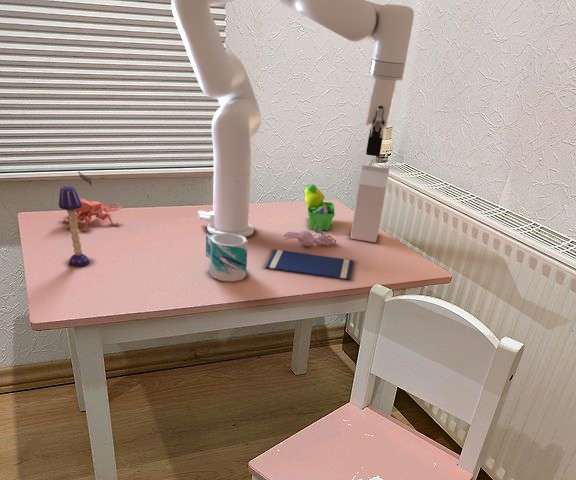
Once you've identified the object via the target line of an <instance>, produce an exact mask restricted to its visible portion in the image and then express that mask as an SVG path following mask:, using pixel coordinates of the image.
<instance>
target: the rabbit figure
mask: <svg viewBox="0 0 576 480" xmlns="http://www.w3.org/2000/svg"><path fill="white" fill-rule="evenodd" d="M319 226H320V225H315V226H314V229H313V232H315V233H316V234H319V235H318V236H316V234H314V233H313V234H312V232H310V231H308V230H301V231H299V232H295V231H288V232H285V233H284V234H283V235H282V237H283V238H284V239H285V240H289V239H297V241H298V243H299V244H301V245H304V247H311V246H313V245H314V244H317V245H318V244H320V245H323V246H326V247H328V246H330V245H332V243H334V245H333V246H336V245H337V239H336V238H334V237H333V235H330V234H328V235H326V234H325V233H324V232H323V230H320V229H318V227H319ZM333 241H334V242H333Z"/></svg>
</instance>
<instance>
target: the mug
mask: <svg viewBox="0 0 576 480" xmlns="http://www.w3.org/2000/svg"><path fill="white" fill-rule="evenodd" d="M248 243H249V241H248V239H247V237H244V236H241V235H238V234H231V233H222V234H207V235H205V257H207V258H208V259H210V260H209V261H210V265H209V266H210V267H209V268H210V269H209V273H210V275H211V277H212V278H213V279H216V280H218V281H221V282H237V281H241V280H243V279H244V278H245V277H247V266H248V245H249V244H248Z"/></svg>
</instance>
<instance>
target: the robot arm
mask: <svg viewBox="0 0 576 480" xmlns="http://www.w3.org/2000/svg"><path fill="white" fill-rule="evenodd" d="M170 1H171V10H172V14H173V18H174V21H175V24H176V26H177V29H178V32H179V34H180V37H181V39H182V41H183V44H184V47H185V50H186V53H187V56H188V59H189V61H190V64H191V67H192V69H193V70H194V73H195V74H194V75H195V76H196V77H195V78H196V79H197V82H198V85H199V87H200V89H201V91H202V92H203V94H205V96H206V97H208V98H210V99H213V100H217V101H218V103H219V106H220V107H219V108H218V109H217V110H216V111H215V113H214V114H213V118H212V120H211V138H212V139H211V140H212V149H213V182H212V183H213V184H212V185H213V186H212V187H213V189H212V191H213V193H212V195H213V196H212V211H211V210H210V211H209V212H208V211H205V210H198V211H197V218H198V219H199V221H203V222H208V223H207V225H206V230H207V232H208V233H209V234H210V235H213V234H222V233H231V234H238V235H241V236H244V237H245V238H247V237H250V236H252V235H253V234H254V232H255V227H254V225H252V224H251V223H249V220H250V219H249V217H250V201H251V200H250V199H251V177H252V147H251V141H252V140H251V138H253V136H254V135H256V133H257V132H258V131H259V129H260V127H261V123H262V115H261V109H260V106H259V103H258V101H257V98H256V95H255V92H254V89H253V86H252V84H251V80H250V77H249V75H248V72H247V70H246V68H245V66H244V64H243V62H242V61H241V59H240V58H239V57H238V56H237V55H235V54H234V53H231V52H228V51H227V50H226V48H225V45H224V42H223V40H222V37H221V33H220V30H219V28H218V25H217V23H216V22H215V20H214V18H213V15H212V12H211V7H218V6H219V7H220V6H223V5H227V4H229V3H231V2H233V1H235V0H170ZM276 1H277V2H279V3H280V4H282V5H284V6H285V7H288V8H289V9H291V10H292V11H294V12H296V13H297V14H299V15H301V16H304V17H306V18H308V19H309V20H312V21H313V22H315V23H317V24H318V25H320V26H322V27H323V28H326V29H327V30H329V31H331V32H333V33H335V34H336V35H338V36H340V37H342V38H344V39H346V40H348V41H350V42H354V43H355V42H361V41H369V40H370V41H371V40H373V41H374V42H373V47H372V55H371V61H370V67H369V73H368V76H369V77H371V78H373V80H372V83H371V88H370V93H369V99H368V106H367V113H366V119H365V125H366V126H369V125H370V126H371V128H369V134H368V139H367V145H366V151H365V154H366V156H372V157H380V156H381V151H382V145H383V139H384V136H383V135H384V129H385V128H387V125H388V122H389V119H390V116H391V111H392V107H393V102H394V97H395V93H396V85H397V81H403V78H404V77H403V76H404V72H405V67H406V61H407V56H408V50H409V45H410V40H411V34H412V28H413V24H414V18H415V13H414V9H413V8H412V7H411V6H407V5H402V4H393V3H391V4H390V3H386V4H379V3H375V2H372V1H368V0H276Z"/></svg>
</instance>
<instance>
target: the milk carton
mask: <svg viewBox="0 0 576 480" xmlns="http://www.w3.org/2000/svg"><path fill="white" fill-rule="evenodd" d="M389 173H390V168H388V167H382V166H374V165H367V164H362V165H361V170H360V176H359V180H358V186H357V193H356V199H355V206H354V213H353V219H352V226H351V233H350V239H352V240H357V241H364V242H370V243H371V242H372V243H377V241H378V237H379V236H378V235H379V231H380V224H381V218H382V214H383V207H384V201H385V196H386V192H387V191H386V190H387V187H388V186H387V185H388V178H389Z"/></svg>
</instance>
